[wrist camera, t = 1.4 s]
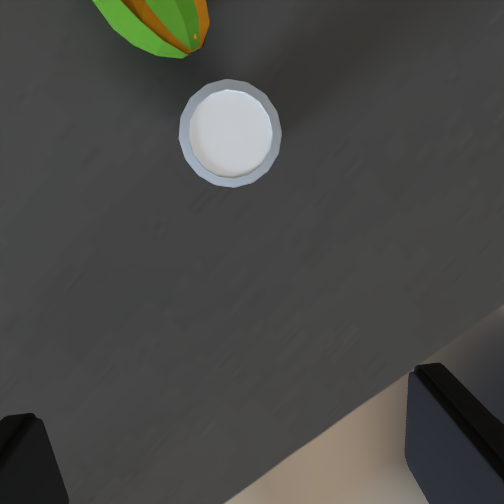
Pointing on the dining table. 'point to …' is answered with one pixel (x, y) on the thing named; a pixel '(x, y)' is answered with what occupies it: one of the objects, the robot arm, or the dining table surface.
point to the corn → (159, 24)
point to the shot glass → (230, 133)
